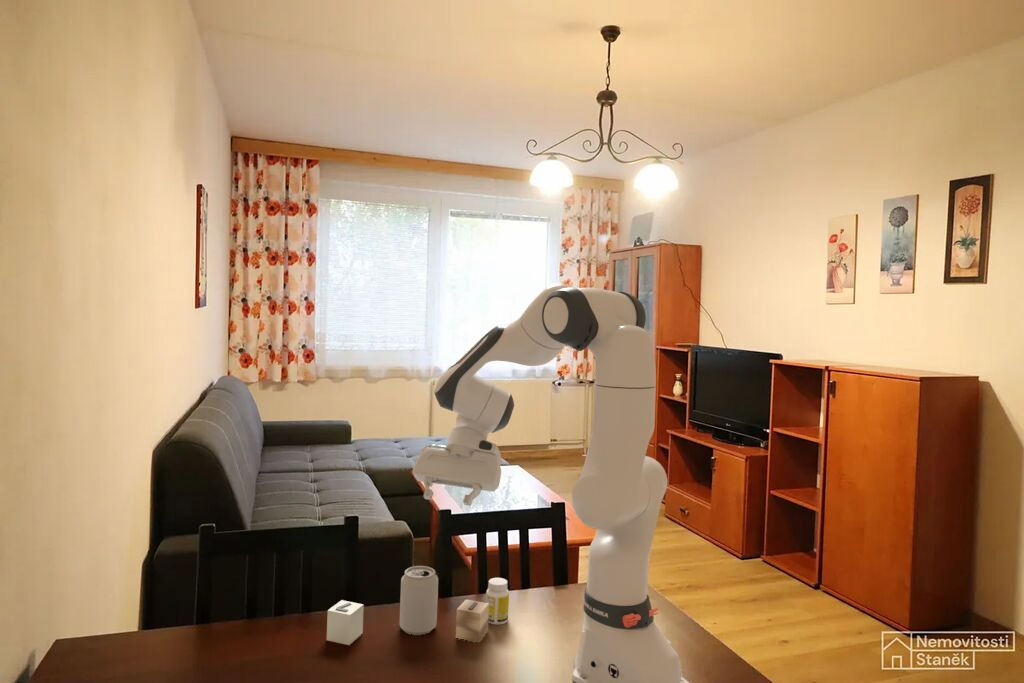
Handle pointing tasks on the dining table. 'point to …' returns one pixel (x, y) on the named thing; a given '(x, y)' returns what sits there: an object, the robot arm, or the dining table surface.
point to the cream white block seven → (345, 622)
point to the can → (418, 600)
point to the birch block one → (472, 620)
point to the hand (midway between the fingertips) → (446, 501)
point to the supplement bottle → (497, 601)
